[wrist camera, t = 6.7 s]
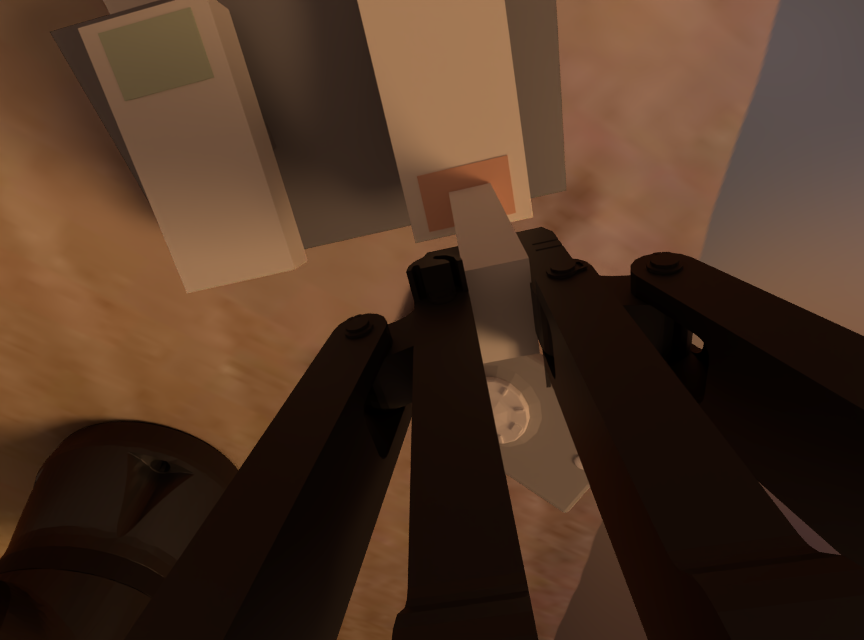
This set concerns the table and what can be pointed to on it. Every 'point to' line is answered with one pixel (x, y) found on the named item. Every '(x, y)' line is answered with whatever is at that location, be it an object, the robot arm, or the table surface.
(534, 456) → the light switch
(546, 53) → the console
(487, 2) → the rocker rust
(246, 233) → the rocker sage
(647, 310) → the robot arm
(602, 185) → the table surface
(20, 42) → the table surface
